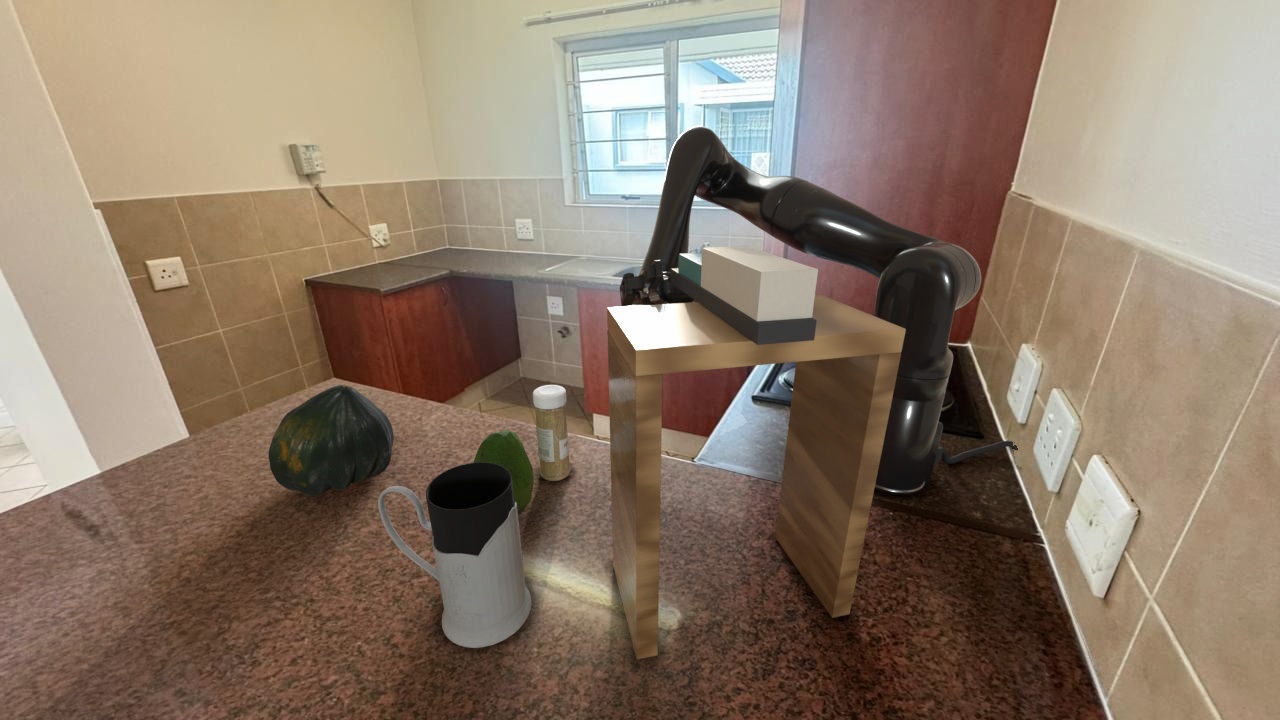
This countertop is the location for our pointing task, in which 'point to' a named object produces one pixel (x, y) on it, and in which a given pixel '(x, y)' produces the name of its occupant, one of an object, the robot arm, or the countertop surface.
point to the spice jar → (552, 431)
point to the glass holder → (472, 551)
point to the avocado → (509, 463)
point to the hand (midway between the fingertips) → (697, 267)
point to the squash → (331, 442)
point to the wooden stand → (815, 450)
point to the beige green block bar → (752, 291)
